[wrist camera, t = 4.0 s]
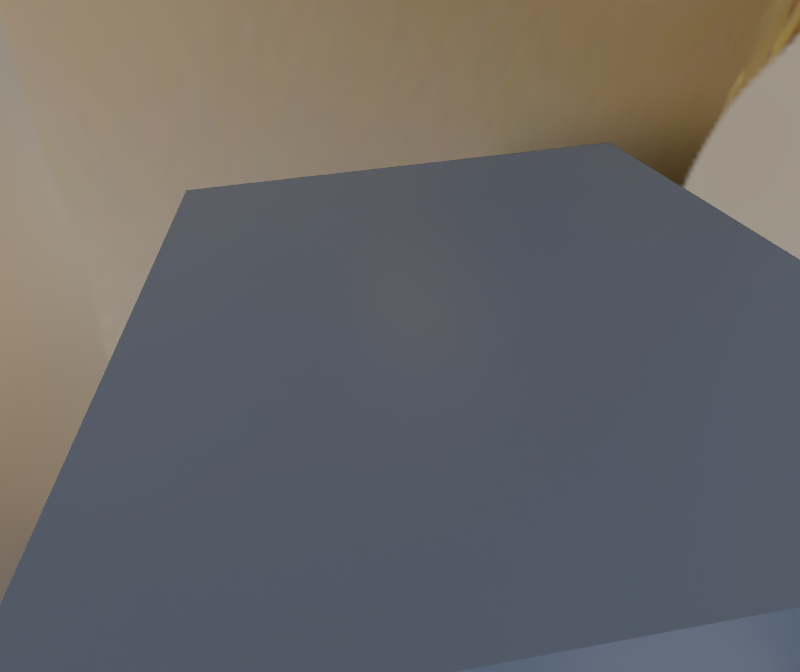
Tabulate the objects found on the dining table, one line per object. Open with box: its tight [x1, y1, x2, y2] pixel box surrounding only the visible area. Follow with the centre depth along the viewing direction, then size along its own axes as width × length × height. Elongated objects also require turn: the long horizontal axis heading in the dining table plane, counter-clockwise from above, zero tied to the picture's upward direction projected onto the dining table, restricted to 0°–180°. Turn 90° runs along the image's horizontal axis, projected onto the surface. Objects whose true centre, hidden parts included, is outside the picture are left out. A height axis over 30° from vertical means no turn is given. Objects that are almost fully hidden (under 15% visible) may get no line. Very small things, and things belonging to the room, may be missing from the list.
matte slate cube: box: [0, 142, 800, 672], centre depth 9 cm, size 8×8×9 cm
